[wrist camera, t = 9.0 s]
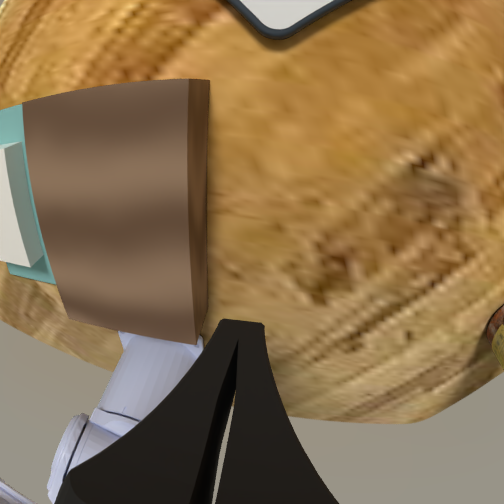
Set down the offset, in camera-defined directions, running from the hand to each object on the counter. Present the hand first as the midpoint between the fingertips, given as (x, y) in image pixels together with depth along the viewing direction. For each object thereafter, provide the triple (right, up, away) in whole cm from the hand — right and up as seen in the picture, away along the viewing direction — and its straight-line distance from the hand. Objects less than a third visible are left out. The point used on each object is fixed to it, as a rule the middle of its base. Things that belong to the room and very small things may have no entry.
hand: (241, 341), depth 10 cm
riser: (-8, +6, +9) cm, 14 cm away
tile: (-21, +6, +8) cm, 23 cm away
